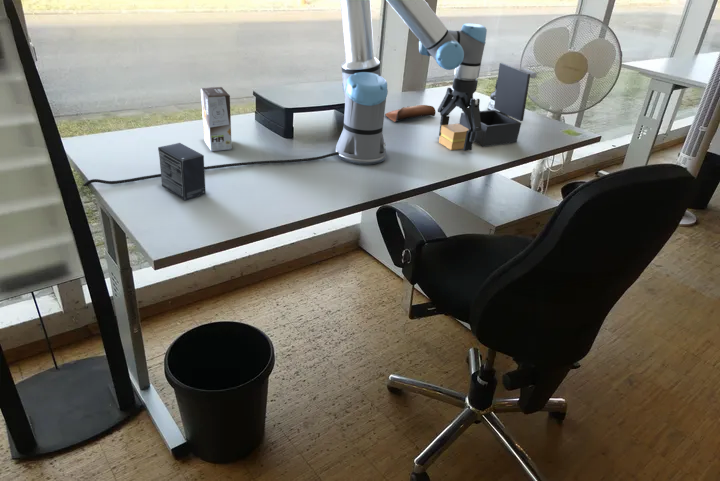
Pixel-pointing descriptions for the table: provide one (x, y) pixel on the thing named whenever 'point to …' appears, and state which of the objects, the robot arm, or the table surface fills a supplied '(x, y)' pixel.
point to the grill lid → (512, 90)
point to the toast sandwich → (453, 136)
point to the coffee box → (216, 118)
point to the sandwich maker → (495, 128)
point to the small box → (182, 171)
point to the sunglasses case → (411, 112)
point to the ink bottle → (493, 100)
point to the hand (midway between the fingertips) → (454, 142)
